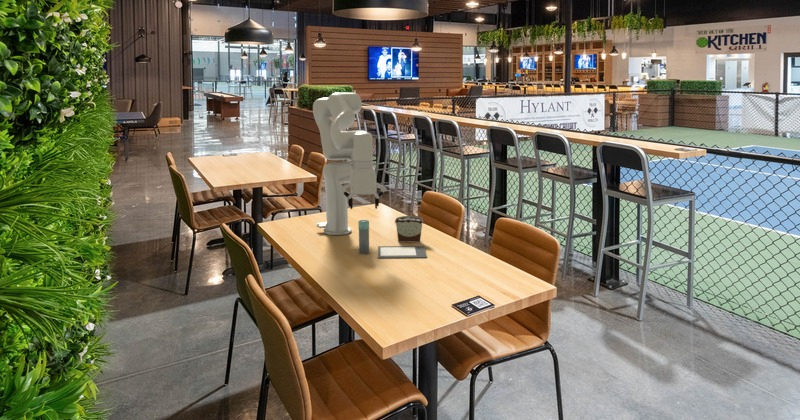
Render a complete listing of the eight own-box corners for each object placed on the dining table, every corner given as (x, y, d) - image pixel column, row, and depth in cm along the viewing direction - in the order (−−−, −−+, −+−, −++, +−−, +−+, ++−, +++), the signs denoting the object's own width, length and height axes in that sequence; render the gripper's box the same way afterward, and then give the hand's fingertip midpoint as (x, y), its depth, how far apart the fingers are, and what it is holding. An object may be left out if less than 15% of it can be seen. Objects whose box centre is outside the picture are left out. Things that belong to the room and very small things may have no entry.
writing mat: (377, 258, 225) (377, 257, 225) (378, 247, 239) (378, 246, 239) (426, 257, 225) (426, 256, 225) (424, 246, 240) (424, 245, 240)
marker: (358, 254, 230) (358, 222, 227) (359, 251, 234) (358, 220, 231) (369, 254, 230) (368, 222, 227) (369, 251, 234) (369, 219, 231)
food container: (424, 238, 252) (424, 215, 250) (423, 242, 246) (423, 219, 244) (396, 237, 254) (396, 215, 251) (394, 241, 248) (394, 218, 245)
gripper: (339, 166, 220) (341, 210, 224) (385, 166, 221) (386, 210, 224) (341, 163, 227) (342, 206, 231) (385, 163, 228) (385, 205, 232)
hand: (363, 208), depth 228 cm, fingers open, 9 cm apart
